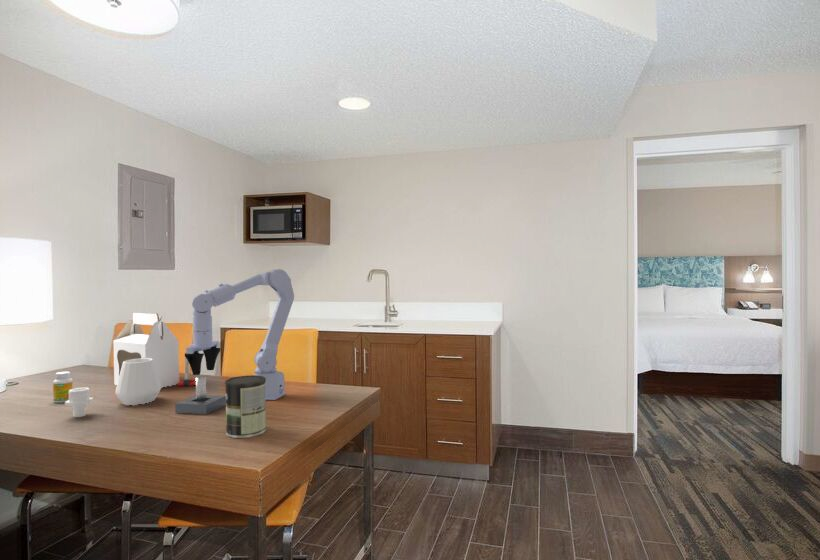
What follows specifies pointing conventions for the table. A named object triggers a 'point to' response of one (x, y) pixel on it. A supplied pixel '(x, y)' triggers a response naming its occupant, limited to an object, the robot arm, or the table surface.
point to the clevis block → (200, 405)
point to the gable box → (148, 347)
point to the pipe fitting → (79, 401)
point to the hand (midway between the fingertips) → (203, 372)
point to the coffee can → (245, 406)
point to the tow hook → (187, 377)
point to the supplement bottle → (62, 387)
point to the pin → (201, 389)
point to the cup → (138, 382)
